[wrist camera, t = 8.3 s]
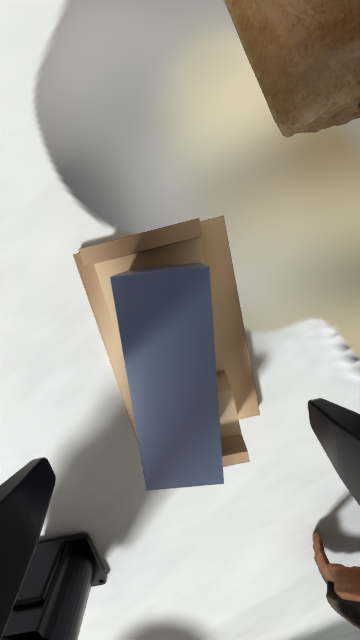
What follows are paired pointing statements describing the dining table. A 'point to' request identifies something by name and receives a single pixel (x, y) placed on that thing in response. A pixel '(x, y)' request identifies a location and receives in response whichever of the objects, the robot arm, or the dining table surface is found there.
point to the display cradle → (229, 335)
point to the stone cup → (303, 59)
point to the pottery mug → (339, 584)
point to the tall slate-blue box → (171, 372)
